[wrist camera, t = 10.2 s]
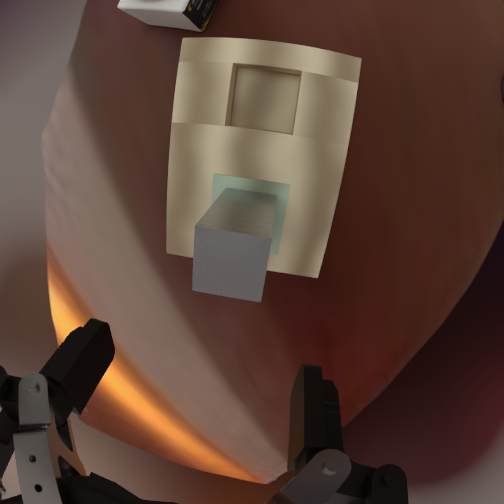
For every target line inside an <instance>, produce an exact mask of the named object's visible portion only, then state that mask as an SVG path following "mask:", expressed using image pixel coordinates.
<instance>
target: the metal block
mask: <svg viewBox="0 0 504 504" xmlns="http://www.w3.org/2000/svg"><path fill="white" fill-rule="evenodd" d="M276 196H277V195H274V194H267V193H261V192H255V191H248V190H241V189H234V188H226V189H225V190H224V191H223V192H222V193H221V195H220V196H219V197H218V198H217V199H216V201H215V202H214V203H213V204H212V205H211V207H210V208H209V209H208V210H207V211H206V213H205V214H204V215H203V216H202V218H201V219H200V220H199V221H198V223H197V224H196V225H195V231H194V253H193V287H192V290H194V291H199V292H204V293H209V294H215V295H220V296H226V297H232V298H237V299H243V300H249V301H255V302H261V298H262V293H263V287H264V282H265V276H266V270H267V265H268V259H269V253H270V247H271V242H272V234H273V225H274V215H275V206H276Z"/></svg>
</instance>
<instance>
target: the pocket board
mask: <svg viewBox="0 0 504 504" xmlns="http://www.w3.org/2000/svg"><path fill="white" fill-rule="evenodd" d="M360 66H361V58H357V57H353V56H349V55H345V54H341V53H337V52H333V51H328V50H324V49H319V48H313V47H308V46H302V45H296V44H289V43H282V42H274V41H265V40H254V39H240V38H183V40H182V46H181V53H180V59H179V66H178V73H177V80H176V88H175V97H174V106H173V115H172V126H171V138H170V152H169V168H168V189H167V253H169V254H175V255H180V256H186V257H192V258H193V253H194V231H195V225H196V224H197V223H198V221H199V220H200V219H201V218H202V216H203V215H204V214H205V213H206V211H207V210H208V209H209V208H210V207H211V205H212V204H213V203H214V202H215V201H216V199H217V198H218V197H219V196H220V195H221V193H222V192H223V191H224V190H225V189H226V188H234V189H241V190H248V191H255V192H261V193H267V194H274V195H277V196H276V206H275V215H274V225H273V234H272V242H271V247H270V253H269V259H268V265H267V270H270V271H276V272H282V273H288V274H295V275H301V276H307V277H314V278H318V275H319V271H320V268H321V264H322V260H323V256H324V253H325V249H326V245H327V241H328V237H329V233H330V229H331V224H332V220H333V216H334V212H335V207H336V203H337V199H338V194H339V189H340V185H341V180H342V175H343V170H344V165H345V160H346V155H347V150H348V144H349V139H350V133H351V127H352V121H353V115H354V109H355V102H356V96H357V89H358V81H359V74H360Z"/></svg>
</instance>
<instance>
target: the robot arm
mask: <svg viewBox="0 0 504 504" xmlns="http://www.w3.org/2000/svg"><path fill="white" fill-rule="evenodd" d="M502 93H503V100H504V77H503V82H502ZM114 354H115V347H114V343H113V339H112V335H111V331H110V327H109V324H108V323H106V322H103V321H100V320H97V319H94V318H91V319H90V320H89V321H88V322H87V323H86V324H85V326H84V327H81V326H80V327H78V328H77V329H75V330H73V331H72V332H71V333H70V334H69V335H68V336H67V337H66V339H65V340H64V342H62V344H61V345H60V346H59V349H57V350H56V351H55V353H54V354H53V355H52V356H51V358H50V359H49V360H48V362H47V363H46V364H45V366H44V367H43V368H42V370H41V371H40V372H39V373H29V374H27V375H25V376H24V377H23V378H21V377H15V376H10V375H8V374H7V373H6V371H5V369H4V368H3V367H2V366H0V407H1V408H2V411H1V412H0V504H178V503H174V502H160V501H150V500H143V499H140V498H138V497H137V496H135V495H134V494H132V493H130V492H129V491H127V490H126V489H124V488H123V487H121V486H120V485H118V484H117V483H115V482H113V481H110V480H108V479H105V478H104V477H101V476H99V475H97V474H94V473H93V472H91V474H90V476H87V475H86V472H85V469H84V466H83V464H82V462H81V461H80V459H79V457H78V454H77V450H76V446H75V441H74V437H73V432H72V428H71V421H70V418H69V415H70V413H71V411H72V412H74V413H76V414H78V415H81V413H82V411H83V410H84V408H85V406H86V404H87V403H88V401H89V399H90V397H91V396H92V394H93V392H94V390H95V389H96V387H97V385H98V384H99V382H100V380H101V379H102V377H103V375H104V374H105V372H106V370H107V369H108V367H109V365H110V364H111V362H112V360H113V358H114ZM14 450H15V459H16V466H17V472H18V478H19V484H20V489H21V493H22V494H20V495H17V496H14V497H11V498H8V499H4V500H2V496H1V495H5V493H6V490H5V487H4V486H3V485H2V481H1V479H2V476H3V474H4V471H5V469H6V467H7V465H8V463H9V461H10V458H11V456H12V454H13V452H14ZM287 470H295V477H294V478H293V479H292V480H291V481H290V482H289V483H288V484H287V485H286V486H285V487H284V488H283V489H282V490H280V491H279V492H278V493H277V494H276V495H275V496H273V497H272V498H271V499H270V500H269V501H268V502H266V503H265V504H408V491H407V478H406V475H405V472H404V471H403V470H402V469H401V468H400V467H398V466H397V465H393V464H386V465H382V466H380V467H379V468H378V469H377V468H372V467H369V466H365V465H361V464H358V463H355V462H354V461H352V460H351V459H350V458H348V456H347V455H346V453H345V451H344V448H343V438H342V426H341V415H340V405H339V396H338V390H337V388H336V387H335V385H334V383H333V382H332V380H323V379H322V368H321V366H315V365H306V364H302V365H301V367H300V369H299V372H298V375H297V377H296V380H295V382H294V385H293V388H292V392H291V399H290V425H289V446H288V464H287Z"/></svg>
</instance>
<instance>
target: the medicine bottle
mask: <svg viewBox="0 0 504 504" xmlns="http://www.w3.org/2000/svg"><path fill="white" fill-rule="evenodd" d="M217 2H218V0H120V2H119V4H118V8H119V9H121V10H122V11H124V12H126V13H128V14H130V15H132V16H134V17H136V18H137V19H139V20H141V21H143V22H144V23H146V24H148V25H157V26H166V27H174V28H181V29H187V30H193V31H199V32H203V31H204V30H205V28H206V25H207V23H208V21H209V19H210V17H211V15H212V12H213V10H214V8H215V6H216V4H217Z"/></svg>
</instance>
